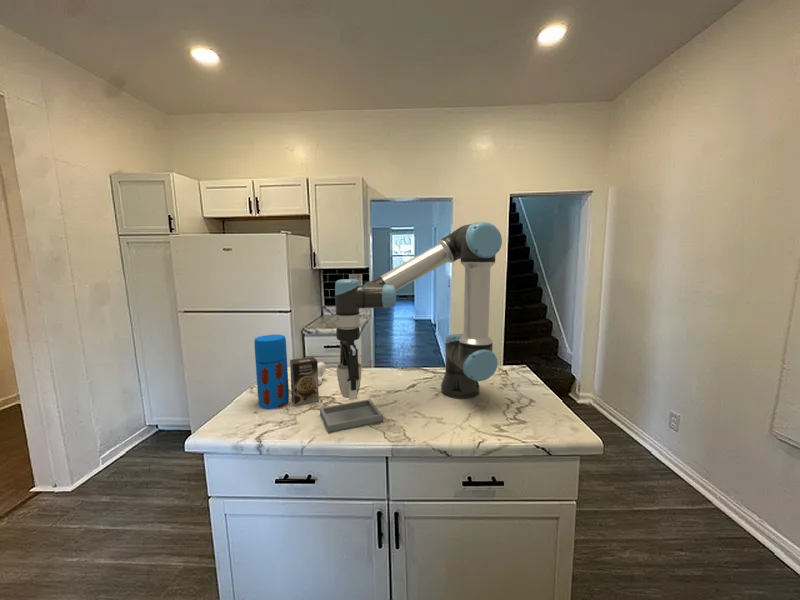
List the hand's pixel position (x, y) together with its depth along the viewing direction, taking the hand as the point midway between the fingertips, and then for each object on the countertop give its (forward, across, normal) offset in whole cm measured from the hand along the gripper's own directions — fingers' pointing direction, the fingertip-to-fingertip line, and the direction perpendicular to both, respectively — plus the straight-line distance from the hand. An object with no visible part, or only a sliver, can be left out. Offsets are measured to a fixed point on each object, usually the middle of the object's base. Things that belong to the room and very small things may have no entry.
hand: (349, 394), depth 118 cm
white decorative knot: (+9, -40, -7) cm, 42 cm away
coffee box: (+9, -21, -12) cm, 26 cm away
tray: (+8, 0, 0) cm, 8 cm away
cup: (0, 0, 0) cm, 0 cm away
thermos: (+9, -24, -23) cm, 34 cm away
